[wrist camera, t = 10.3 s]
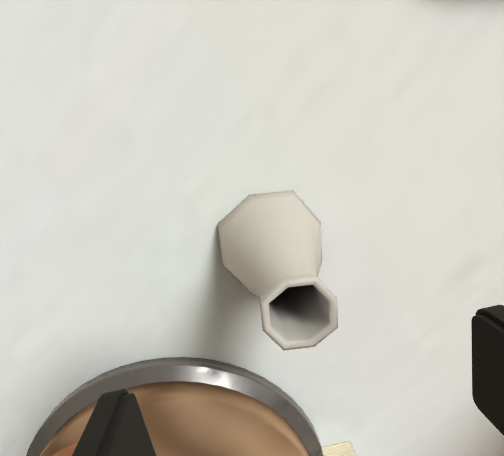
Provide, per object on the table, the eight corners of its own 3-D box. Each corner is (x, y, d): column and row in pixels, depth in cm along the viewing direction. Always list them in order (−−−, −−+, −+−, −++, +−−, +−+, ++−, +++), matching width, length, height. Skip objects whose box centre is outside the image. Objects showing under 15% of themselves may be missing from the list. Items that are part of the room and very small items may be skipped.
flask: (243, 305, 24) (252, 416, 14) (199, 216, 22) (175, 274, 12) (336, 265, 24) (411, 352, 14) (300, 171, 22) (355, 195, 12)
